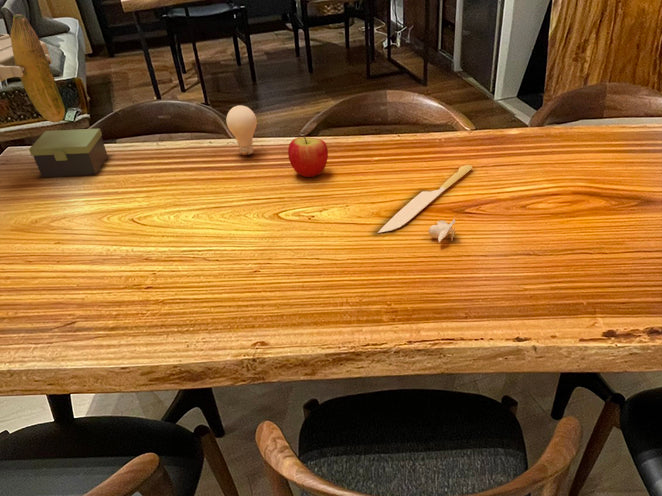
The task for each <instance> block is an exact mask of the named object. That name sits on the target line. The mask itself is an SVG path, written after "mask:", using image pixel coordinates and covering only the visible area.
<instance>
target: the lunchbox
mask: <svg viewBox="0 0 662 496" xmlns="http://www.w3.org/2000/svg"><path fill="white" fill-rule="evenodd" d="M102 136H103V133H102V130H101V128H82V129H81V128H79V129H62V130H61V129H60V130H59V129H58V130H57V129H55V130H45V131H44V132H43V133H42V134H41V135H40V136H39V138H38V139H37V140H35V142H34V143H33V144H32V145H31V146H30V147H29V148H28V150H29V153H30V156H31V157H33V159H34V163H35V164H36V166H37V169H38V171H39V174H40V176H41V178H54V177H57V178H59V177H76V176H95V175H97V174H98V172H99V170H100V169H101V168H102V167H103V164H104V163H105V162H106V160H107V159H108V157H109V156H108V152H107V149H106V146H105V142H104V140H103V137H102Z"/></svg>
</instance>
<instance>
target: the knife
mask: <svg viewBox="0 0 662 496" xmlns="http://www.w3.org/2000/svg"><path fill="white" fill-rule="evenodd" d="M472 169H473V166H472V165H471V164H465V165H462V166H460V167H458V171H456V172H455V173H454V174H452V176H450V177H449V178H447V180H445V181H444V183H442V185H441V186H440V187H439V189H435V190H432V191H431V190H430V191H429V190H428V191H426V190H422V191H421V192H419V193H418V194H417V195H416V196H414V197H413V198H412V200H410V201H409V202H408V203H407V204H405V206H403V207H402V208H401V209H400V210H399V211H398V212H397V213H395V214H394V215H393V216H392V217H391V218H390V219H389V220H388V221H387V222H386V223H385V224H384V225H383V226H382V227H381V228H380V229H379V231H377V234H379V233H385V232H386V233H387V232H391V231H394V230H397V229H399V228H401V227H402V226H405V225H406V224H407V223H408V222H409V221H411V220H412V219H413V218H414V217H416V216H417V215H418V214H419V213H420V212H421V211H423V210H424V209H425V208H426V207H428V205H430V204H431V203H433V202H434V200H435V199H437V198H438V197H439V196H440V195H441V194H443V193H444V192H446V190H447V189H449V188H450V187H451V186H452V185H454V184H455V183H456V182H458V181H459V180H460V179H461V178H463V177H464V176H465V175H467V174H468V173H469V172H470V171H471V170H472Z"/></svg>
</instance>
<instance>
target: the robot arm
mask: <svg viewBox="0 0 662 496" xmlns="http://www.w3.org/2000/svg"><path fill="white" fill-rule="evenodd" d="M39 41H40V43H41V45H42V48H43V51H44V53H45V56H46V58H47V61H48V64H49V66H51V65H52V64H53V62H52V58H51V56H50V52H49V48H48V46H47V45H46V43H45V42H44V41H43V40H40V39H39ZM26 74H27V73H26V71H25V67H24V66H23V65H16V64H15V60H14V55H13V50H12V44H11V35H10V34H8V33H0V83H1V82H3V81H5V80H8V79H11V78H20V77H23V76H25V75H26Z"/></svg>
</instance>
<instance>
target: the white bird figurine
mask: <svg viewBox="0 0 662 496" xmlns="http://www.w3.org/2000/svg"><path fill="white" fill-rule="evenodd" d="M455 224H456V217H454V218H453V219H452V221H451V222H450V223H448V222H447V221H446V220H444V219H443V220H437V224H433V225H430V227H429V228H428V234H429V236H430V237H432V238H435V239H437V240H438V241H437V242H438V243H440V242H441V241H442V240H443V239H445V237H447V236H448V235H449V234H450V238H451V240H454V239H453V238H454V236H455V234H456V232H457V231H456V229H457V228H456V227H454V228H453V225H455Z"/></svg>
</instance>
